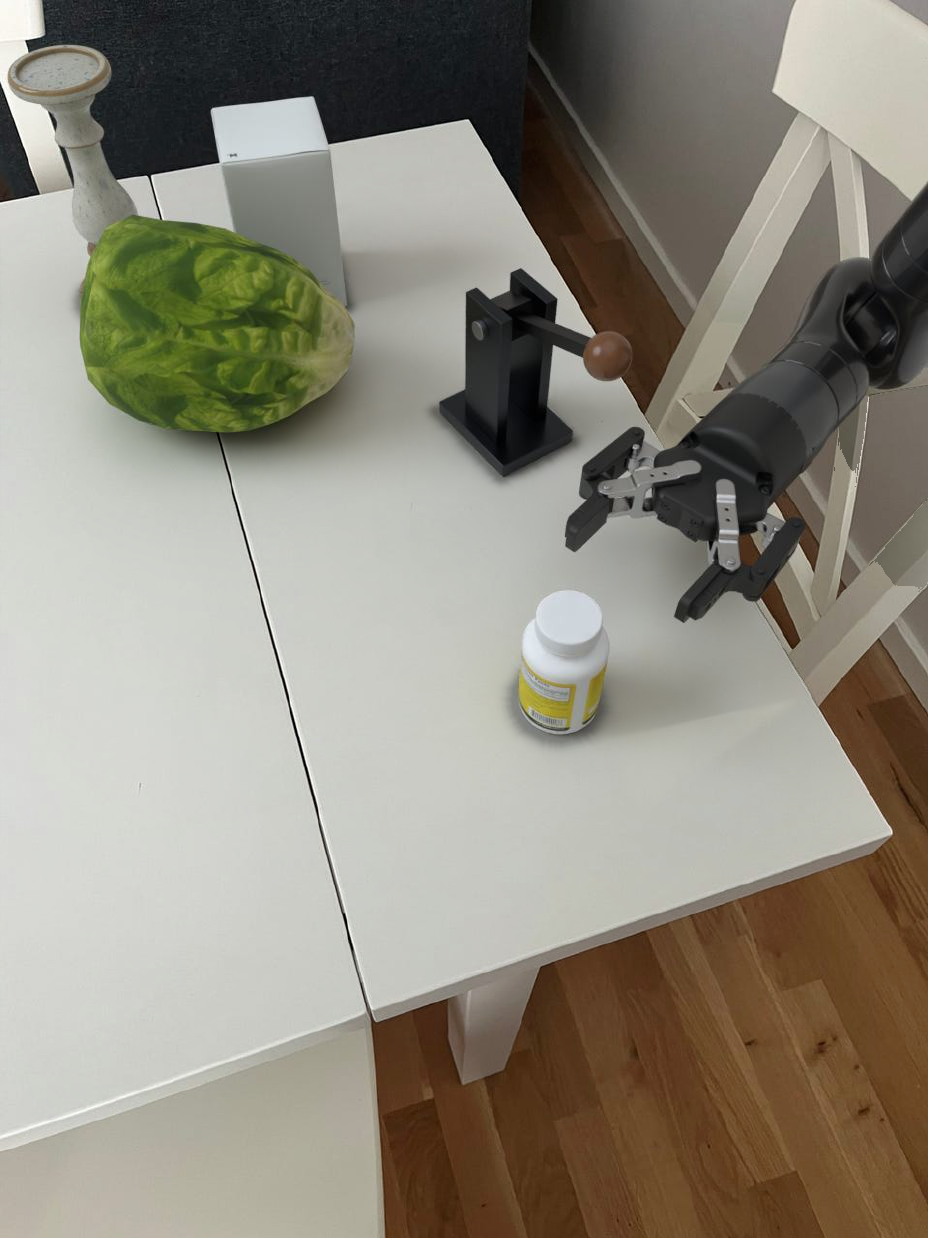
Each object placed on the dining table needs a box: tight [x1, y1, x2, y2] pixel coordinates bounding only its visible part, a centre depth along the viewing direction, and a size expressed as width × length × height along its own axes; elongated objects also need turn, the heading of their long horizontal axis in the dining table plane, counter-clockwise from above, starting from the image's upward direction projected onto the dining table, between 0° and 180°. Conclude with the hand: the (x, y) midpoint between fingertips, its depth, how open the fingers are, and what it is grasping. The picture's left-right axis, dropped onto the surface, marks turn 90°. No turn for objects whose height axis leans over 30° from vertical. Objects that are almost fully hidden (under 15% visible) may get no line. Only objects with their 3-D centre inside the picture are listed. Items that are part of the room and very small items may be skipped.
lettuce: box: [79, 214, 356, 433], centre depth 77 cm, size 16×21×15 cm
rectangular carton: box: [210, 96, 348, 308], centre depth 86 cm, size 9×9×15 cm
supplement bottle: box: [518, 589, 610, 735], centre depth 62 cm, size 5×5×10 cm
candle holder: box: [7, 44, 139, 301], centre depth 83 cm, size 9×9×20 cm
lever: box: [489, 290, 633, 383], centre depth 68 cm, size 14×3×3 cm, turn 35°
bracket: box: [438, 267, 574, 477], centre depth 76 cm, size 9×7×13 cm
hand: (624, 576), depth 62 cm, fingers open, 8 cm apart
